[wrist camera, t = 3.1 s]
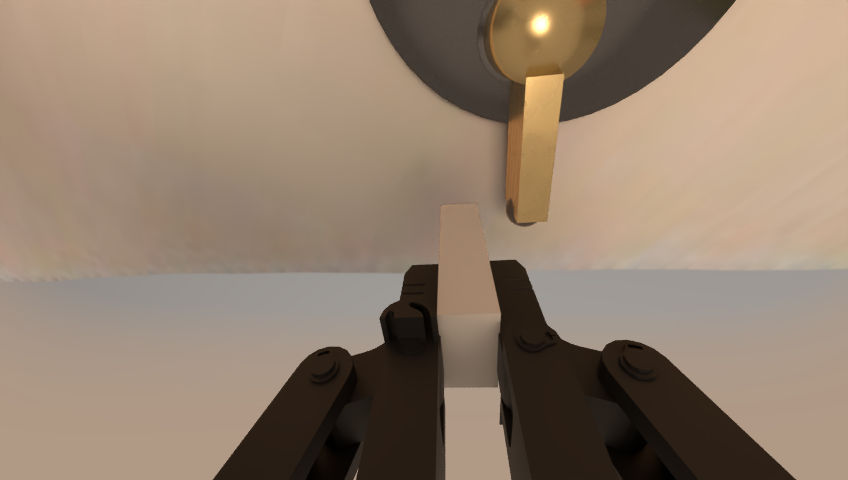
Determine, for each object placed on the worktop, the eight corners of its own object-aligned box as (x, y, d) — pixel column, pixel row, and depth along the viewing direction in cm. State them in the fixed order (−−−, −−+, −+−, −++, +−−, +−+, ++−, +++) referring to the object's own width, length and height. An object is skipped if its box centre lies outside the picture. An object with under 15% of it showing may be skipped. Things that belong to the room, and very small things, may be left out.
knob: (483, -18, 17) (494, -39, 13) (579, -31, 16) (619, -56, 13) (482, 213, 23) (490, 241, 20) (550, 208, 23) (571, 236, 19)
